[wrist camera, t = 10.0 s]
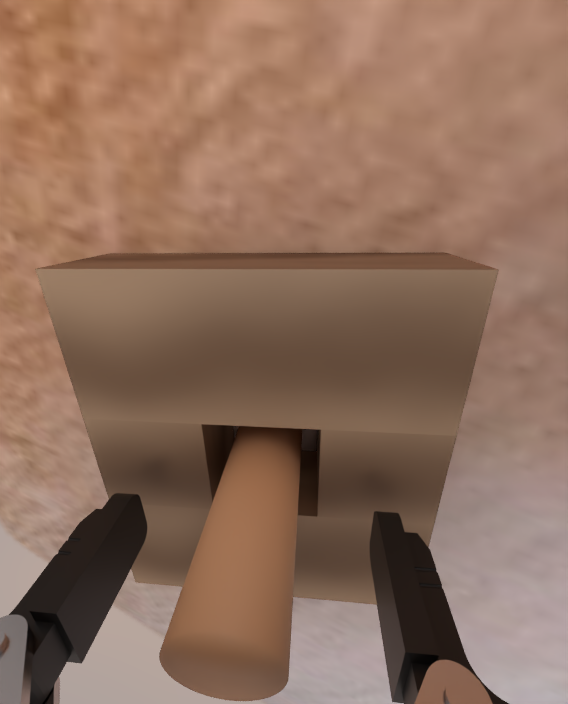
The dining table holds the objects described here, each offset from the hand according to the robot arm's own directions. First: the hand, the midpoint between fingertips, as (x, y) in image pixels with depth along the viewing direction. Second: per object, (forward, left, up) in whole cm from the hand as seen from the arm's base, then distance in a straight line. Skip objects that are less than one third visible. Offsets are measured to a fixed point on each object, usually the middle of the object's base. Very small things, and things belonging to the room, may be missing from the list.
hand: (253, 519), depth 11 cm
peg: (0, 0, -6) cm, 6 cm away
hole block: (0, 0, -6) cm, 6 cm away
